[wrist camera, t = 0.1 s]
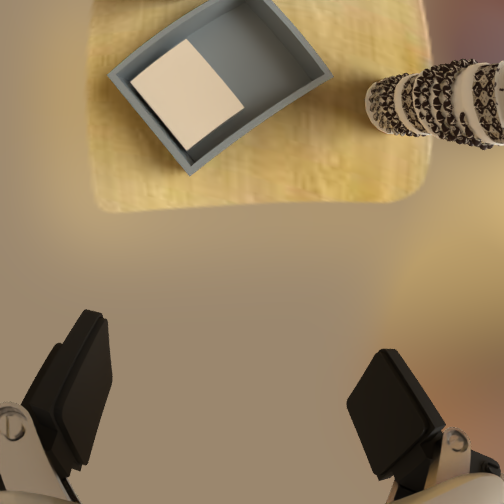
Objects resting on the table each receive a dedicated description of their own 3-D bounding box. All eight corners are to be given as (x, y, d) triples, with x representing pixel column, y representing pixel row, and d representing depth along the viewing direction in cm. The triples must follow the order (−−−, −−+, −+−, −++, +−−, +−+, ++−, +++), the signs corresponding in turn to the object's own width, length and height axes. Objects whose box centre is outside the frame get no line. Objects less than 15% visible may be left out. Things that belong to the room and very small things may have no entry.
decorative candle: (419, 131, 36) (556, 154, 13) (371, 142, 37) (515, 170, 14) (404, 75, 33) (540, 58, 10) (354, 81, 33) (492, 47, 10)
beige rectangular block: (190, 48, 29) (186, 38, 25) (242, 110, 33) (244, 107, 29) (139, 87, 30) (130, 82, 27) (190, 149, 34) (186, 150, 31)
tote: (246, -1, 27) (250, -21, 22) (318, 84, 33) (334, 76, 28) (123, 82, 31) (106, 75, 25) (194, 170, 36) (189, 176, 31)
